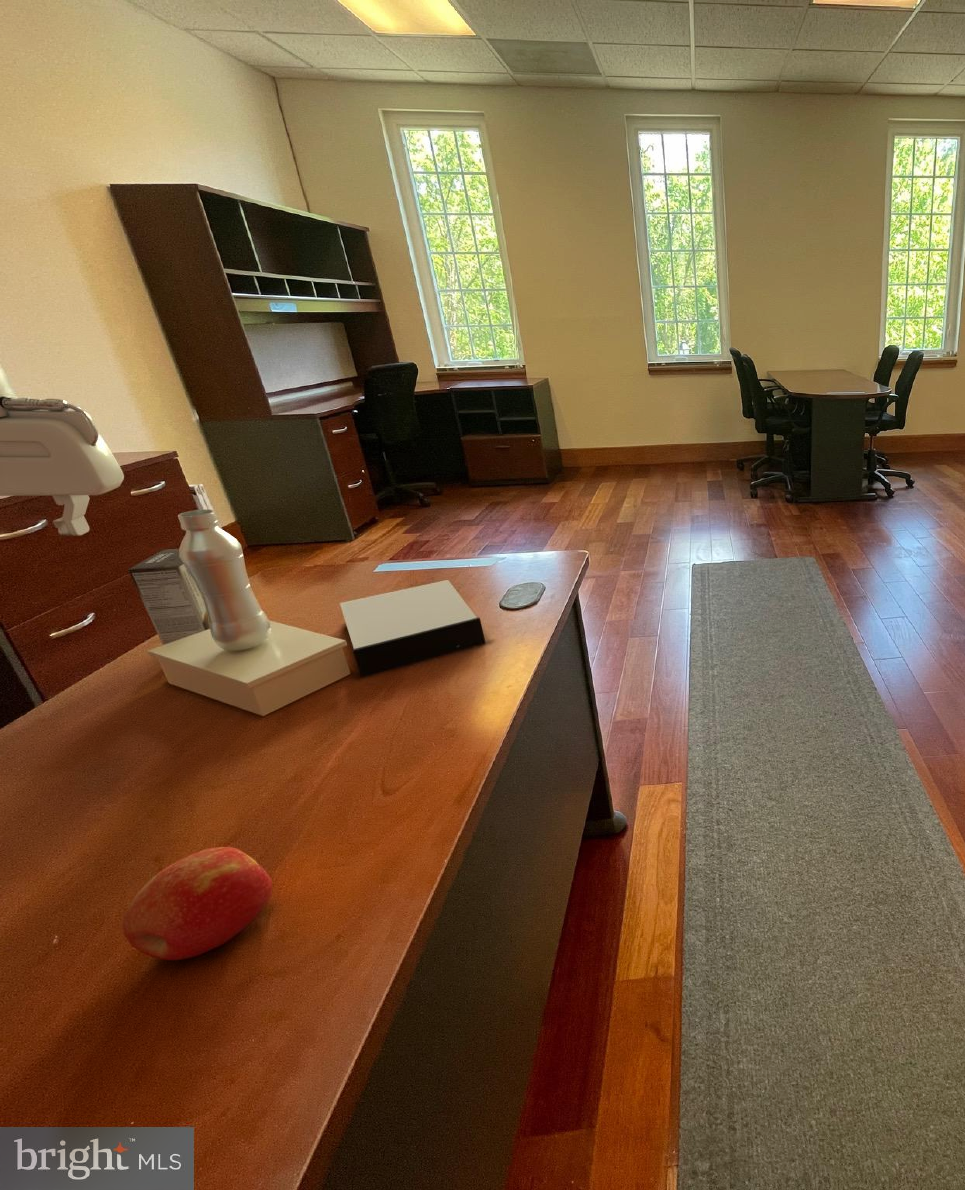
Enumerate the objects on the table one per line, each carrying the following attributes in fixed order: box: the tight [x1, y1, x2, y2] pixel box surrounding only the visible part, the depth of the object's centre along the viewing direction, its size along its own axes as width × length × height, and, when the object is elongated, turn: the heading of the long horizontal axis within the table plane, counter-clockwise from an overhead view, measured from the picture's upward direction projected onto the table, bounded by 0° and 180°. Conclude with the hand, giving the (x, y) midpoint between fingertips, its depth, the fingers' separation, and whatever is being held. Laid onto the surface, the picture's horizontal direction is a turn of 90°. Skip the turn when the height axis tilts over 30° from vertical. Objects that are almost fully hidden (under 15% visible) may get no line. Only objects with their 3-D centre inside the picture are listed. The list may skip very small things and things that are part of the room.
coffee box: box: [127, 548, 210, 645], centre depth 97 cm, size 9×6×16 cm
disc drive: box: [339, 579, 486, 678], centre depth 104 cm, size 18×22×5 cm
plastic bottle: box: [177, 508, 271, 651], centre depth 85 cm, size 6×7×20 cm
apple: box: [122, 846, 273, 961], centre depth 52 cm, size 8×8×8 cm
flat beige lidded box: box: [147, 619, 351, 717], centre depth 90 cm, size 23×13×6 cm, turn 68°
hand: (19, 534), depth 63 cm, fingers open, 8 cm apart
